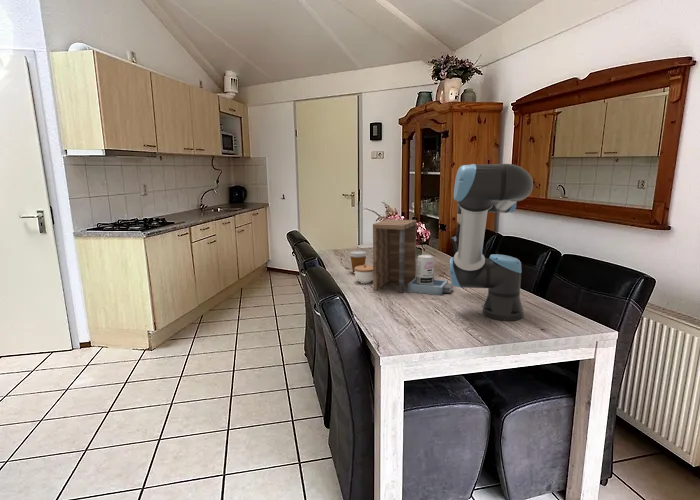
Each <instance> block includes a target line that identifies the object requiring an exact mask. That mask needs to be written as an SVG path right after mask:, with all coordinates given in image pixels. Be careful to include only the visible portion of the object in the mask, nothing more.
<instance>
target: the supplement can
mask: <svg viewBox="0 0 700 500" xmlns="http://www.w3.org/2000/svg"><path fill="white" fill-rule="evenodd" d="M434 275H435V259H434V256H433V255H430V254H419V255H417V256H416V284H419V285H428V286H434V279H435V278H434V277H435V276H434Z"/></svg>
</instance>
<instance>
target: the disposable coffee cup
mask: <svg viewBox="0 0 700 500" xmlns="http://www.w3.org/2000/svg"><path fill="white" fill-rule="evenodd" d="M367 255H368V254H367V252H366V251H365V250H353V251H349V256H350V262H351V268H352V273H353V272H355V267H356V266H361V265H364V264H366V259H367Z"/></svg>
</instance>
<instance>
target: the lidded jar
mask: <svg viewBox="0 0 700 500" xmlns="http://www.w3.org/2000/svg"><path fill="white" fill-rule="evenodd" d="M354 276H355V278H356V280H357V281H358V283H359V282H362V283H363V284H369V282H370V283H371V282H373V265H368V264H366V263H365V264H364V265H361V266H356V267H355V274H354ZM362 283H361V284H362Z"/></svg>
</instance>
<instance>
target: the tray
mask: <svg viewBox="0 0 700 500" xmlns="http://www.w3.org/2000/svg"><path fill="white" fill-rule="evenodd" d="M453 289H454V286H453V285H452V283H449V280H446V279H445V280H444V279H436V278H434V286H428V285H419V284H416V278H414V279H413V280H412V281H411V282H410V283H407V292H410V293H418V294H427V295H435V296H442V295H444V293H447V294H450V293H451V292H452V291H453Z"/></svg>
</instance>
